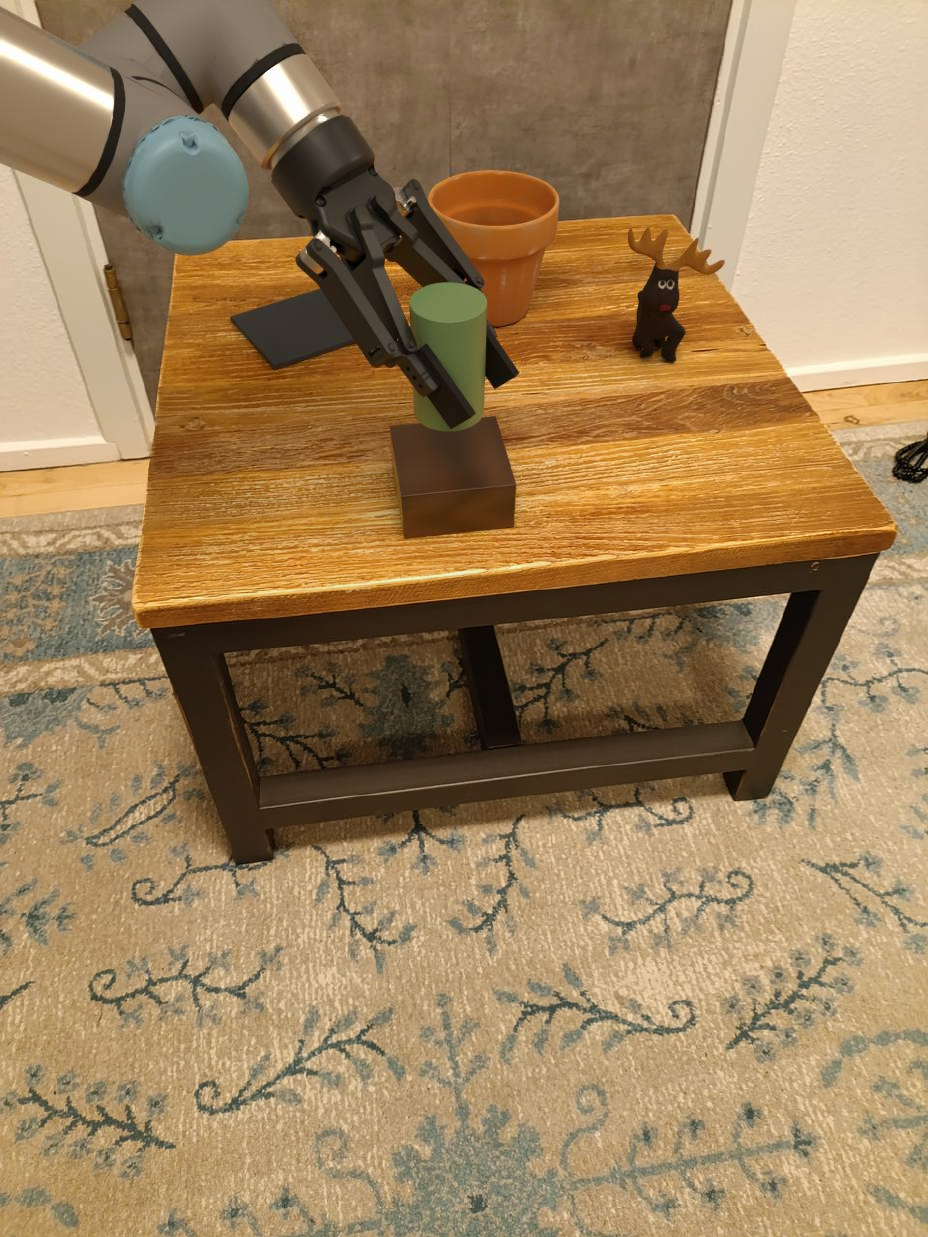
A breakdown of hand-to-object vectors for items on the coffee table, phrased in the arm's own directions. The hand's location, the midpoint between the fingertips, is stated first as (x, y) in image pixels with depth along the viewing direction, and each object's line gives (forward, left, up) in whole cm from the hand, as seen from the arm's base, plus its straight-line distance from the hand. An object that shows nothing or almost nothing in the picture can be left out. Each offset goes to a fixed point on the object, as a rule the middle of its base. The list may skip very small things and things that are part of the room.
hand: (485, 400), depth 73 cm
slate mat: (+2, +37, -12) cm, 39 cm away
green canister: (-2, +3, -2) cm, 4 cm away
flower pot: (+21, +29, -12) cm, 38 cm away
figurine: (+31, +11, -12) cm, 35 cm away
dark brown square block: (-1, +3, -12) cm, 13 cm away
